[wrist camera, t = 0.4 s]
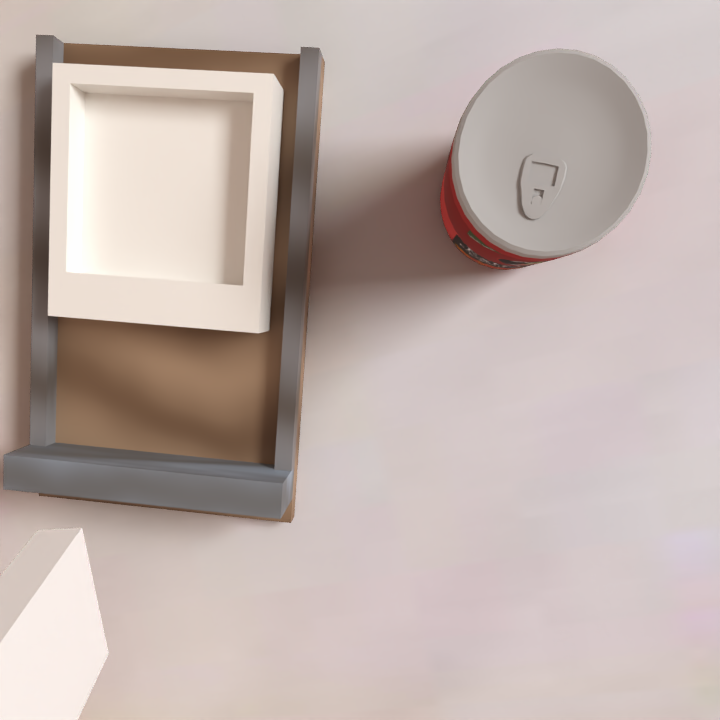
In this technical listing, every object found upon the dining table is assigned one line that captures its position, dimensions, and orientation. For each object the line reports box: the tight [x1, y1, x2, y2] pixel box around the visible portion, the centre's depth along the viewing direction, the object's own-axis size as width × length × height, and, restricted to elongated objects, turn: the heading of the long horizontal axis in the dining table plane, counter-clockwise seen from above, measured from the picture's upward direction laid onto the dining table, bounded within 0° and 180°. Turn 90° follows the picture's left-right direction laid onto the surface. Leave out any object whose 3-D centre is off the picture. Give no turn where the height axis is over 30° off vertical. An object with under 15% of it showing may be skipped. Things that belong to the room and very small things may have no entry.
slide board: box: [3, 35, 325, 523], centre depth 34 cm, size 27×16×4 cm, turn 176°
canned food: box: [440, 49, 651, 270], centre depth 29 cm, size 8×8×11 cm
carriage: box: [48, 63, 284, 333], centre depth 33 cm, size 14×12×2 cm
